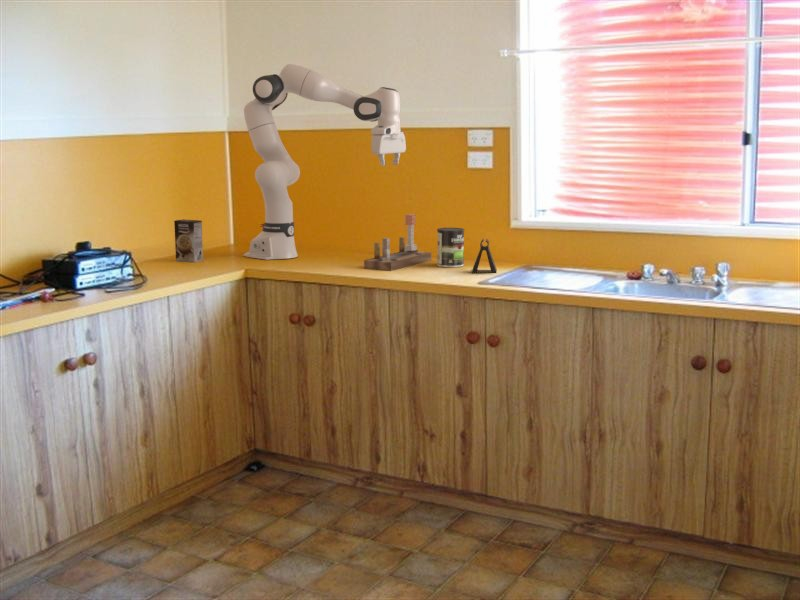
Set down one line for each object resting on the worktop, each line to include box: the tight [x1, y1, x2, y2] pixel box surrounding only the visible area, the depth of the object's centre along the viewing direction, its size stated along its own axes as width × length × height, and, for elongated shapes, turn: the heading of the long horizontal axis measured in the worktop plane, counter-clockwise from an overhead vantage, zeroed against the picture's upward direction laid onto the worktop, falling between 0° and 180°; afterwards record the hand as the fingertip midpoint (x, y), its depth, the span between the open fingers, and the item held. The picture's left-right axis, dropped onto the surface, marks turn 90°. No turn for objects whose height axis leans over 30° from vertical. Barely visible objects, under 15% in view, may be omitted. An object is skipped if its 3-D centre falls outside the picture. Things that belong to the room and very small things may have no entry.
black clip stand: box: [471, 238, 498, 274], centre depth 360 cm, size 9×6×12 cm, turn 82°
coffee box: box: [173, 218, 204, 263], centre depth 389 cm, size 9×6×16 cm
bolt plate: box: [363, 236, 432, 272], centre depth 380 cm, size 12×30×11 cm, turn 148°
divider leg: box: [404, 213, 418, 251], centre depth 386 cm, size 3×4×14 cm
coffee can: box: [436, 227, 465, 268], centre depth 375 cm, size 10×10×14 cm
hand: (389, 165), depth 388 cm, fingers open, 8 cm apart
